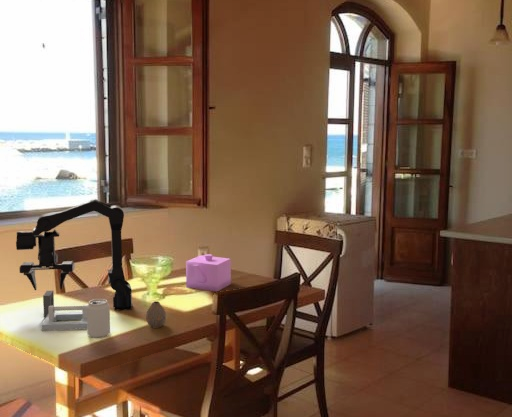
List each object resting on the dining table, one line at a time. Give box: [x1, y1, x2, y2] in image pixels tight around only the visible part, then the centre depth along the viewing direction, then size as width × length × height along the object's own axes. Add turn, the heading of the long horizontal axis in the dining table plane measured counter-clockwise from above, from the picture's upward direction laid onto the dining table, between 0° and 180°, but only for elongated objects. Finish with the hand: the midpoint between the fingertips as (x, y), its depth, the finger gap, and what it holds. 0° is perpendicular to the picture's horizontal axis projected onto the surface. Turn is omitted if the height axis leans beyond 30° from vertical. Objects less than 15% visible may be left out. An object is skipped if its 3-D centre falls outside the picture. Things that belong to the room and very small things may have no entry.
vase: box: [145, 301, 167, 329], centre depth 214 cm, size 7×7×9 cm
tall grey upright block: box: [42, 290, 55, 317], centre depth 226 cm, size 2×7×8 cm, turn 8°
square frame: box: [41, 304, 88, 332], centre depth 215 cm, size 16×13×6 cm
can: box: [86, 298, 111, 339], centre depth 204 cm, size 8×8×12 cm
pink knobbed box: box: [185, 253, 232, 292], centre depth 264 cm, size 15×25×14 cm, turn 156°
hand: (48, 289), depth 225 cm, fingers open, 9 cm apart
